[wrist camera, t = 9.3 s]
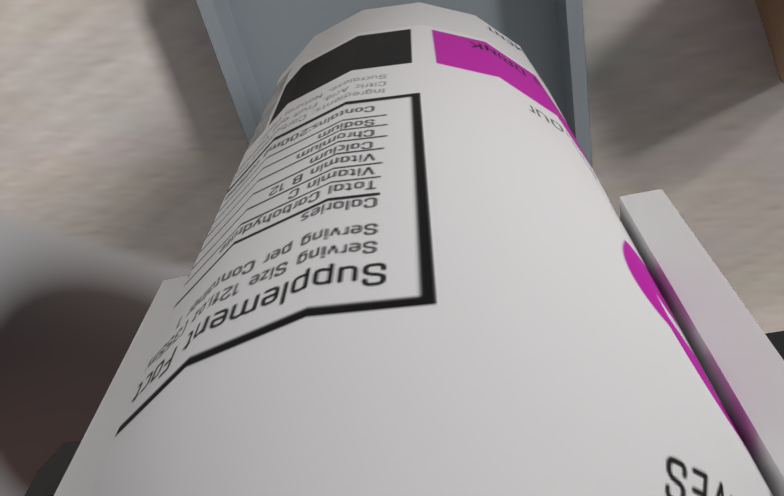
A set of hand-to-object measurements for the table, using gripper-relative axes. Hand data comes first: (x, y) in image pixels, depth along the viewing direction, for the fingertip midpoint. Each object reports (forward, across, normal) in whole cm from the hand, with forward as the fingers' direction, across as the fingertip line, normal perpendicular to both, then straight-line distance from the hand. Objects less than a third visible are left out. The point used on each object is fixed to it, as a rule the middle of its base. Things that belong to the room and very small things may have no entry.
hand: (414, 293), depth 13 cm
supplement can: (+7, 0, 0) cm, 7 cm away
